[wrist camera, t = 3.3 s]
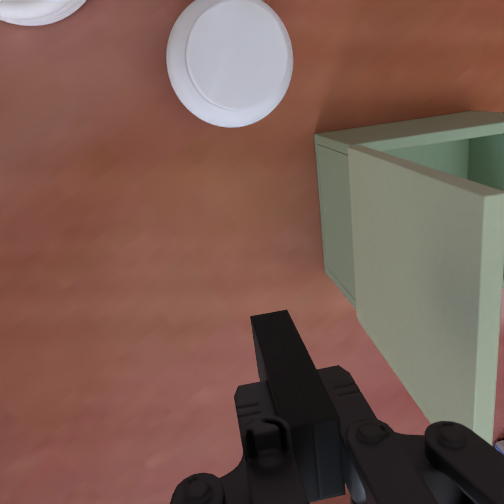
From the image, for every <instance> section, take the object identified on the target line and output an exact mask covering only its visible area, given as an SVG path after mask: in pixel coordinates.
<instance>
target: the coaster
mask: <svg viewBox="0 0 504 504" xmlns="http://www.w3.org/2000/svg"><path fill="white" fill-rule="evenodd" d="M85 2H86V0H0V20H2V21H5V22H8V23H12V24H17V25H25V26H40V25H46V24H51V23H54V22H57V21H60V20H62V19H64V18H66V17H68V16H69V15H71V14H72V13H74V12H75V11H76V10H78V9H79V8H80V7H81V6H82V5H83V4H84V3H85Z"/></svg>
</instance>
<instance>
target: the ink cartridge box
mask: <svg viewBox="0 0 504 504" xmlns="http://www.w3.org/2000/svg"><path fill="white" fill-rule="evenodd" d="M495 449H497V450H498V451H499V452H501V453H502V454H503V455H504V440H502V441H499V442H496V443H495Z"/></svg>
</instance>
